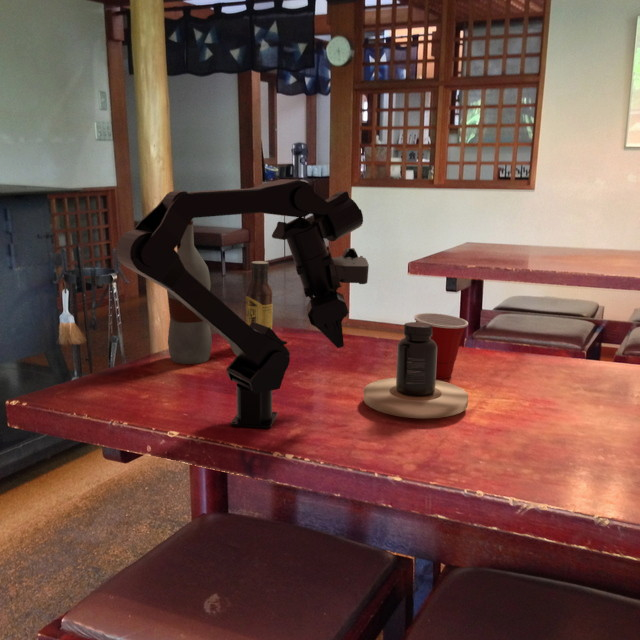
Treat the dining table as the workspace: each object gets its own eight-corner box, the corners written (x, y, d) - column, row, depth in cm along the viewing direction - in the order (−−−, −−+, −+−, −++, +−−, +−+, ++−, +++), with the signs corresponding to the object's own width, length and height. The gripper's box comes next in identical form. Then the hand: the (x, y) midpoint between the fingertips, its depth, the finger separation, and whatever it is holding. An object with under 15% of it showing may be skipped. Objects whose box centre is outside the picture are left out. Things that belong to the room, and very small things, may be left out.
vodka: (161, 363, 141) (156, 220, 135) (176, 352, 150) (172, 218, 144) (204, 366, 140) (201, 221, 134) (217, 355, 149) (215, 219, 143)
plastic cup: (461, 385, 129) (464, 325, 127) (406, 379, 133) (408, 320, 130) (468, 371, 139) (472, 314, 137) (417, 365, 143) (419, 310, 140)
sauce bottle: (242, 343, 160) (241, 260, 156) (266, 341, 163) (266, 259, 158) (251, 349, 154) (250, 263, 150) (276, 347, 157) (276, 262, 153)
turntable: (472, 421, 107) (473, 411, 107) (360, 414, 109) (360, 405, 109) (463, 387, 125) (463, 379, 124) (366, 382, 127) (366, 374, 126)
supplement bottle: (442, 392, 117) (446, 324, 114) (420, 400, 112) (424, 330, 109) (410, 383, 121) (413, 318, 119) (387, 391, 116) (390, 324, 114)
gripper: (365, 256, 100) (392, 344, 106) (350, 222, 117) (374, 300, 123) (294, 279, 100) (325, 365, 107) (289, 242, 118) (316, 319, 124)
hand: (337, 335), depth 115 cm, fingers open, 9 cm apart
